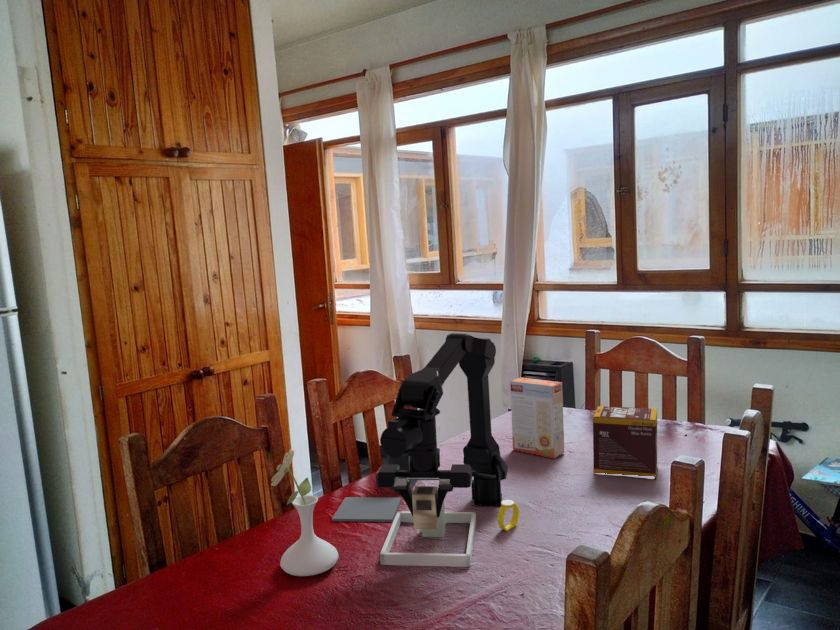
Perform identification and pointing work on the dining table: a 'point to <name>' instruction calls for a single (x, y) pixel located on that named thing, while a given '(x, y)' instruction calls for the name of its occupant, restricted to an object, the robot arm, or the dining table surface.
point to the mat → (367, 509)
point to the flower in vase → (304, 532)
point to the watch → (504, 506)
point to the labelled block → (425, 507)
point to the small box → (400, 464)
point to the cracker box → (537, 416)
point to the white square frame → (429, 558)
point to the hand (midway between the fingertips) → (426, 516)
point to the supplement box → (625, 441)
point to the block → (440, 528)
